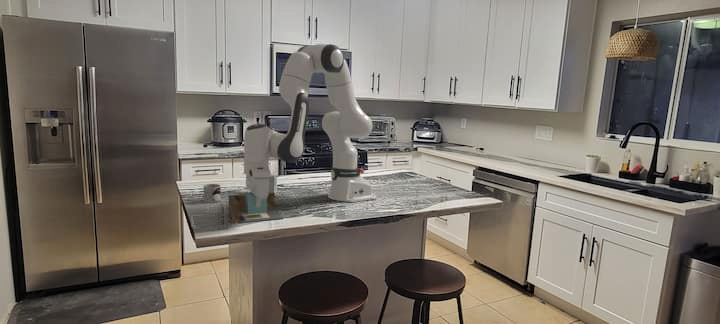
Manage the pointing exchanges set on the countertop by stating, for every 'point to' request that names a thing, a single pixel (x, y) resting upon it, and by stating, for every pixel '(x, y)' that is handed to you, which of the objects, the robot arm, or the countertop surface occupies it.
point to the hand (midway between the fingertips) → (256, 204)
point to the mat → (260, 216)
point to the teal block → (251, 205)
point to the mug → (212, 193)
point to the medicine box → (272, 183)
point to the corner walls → (239, 205)
